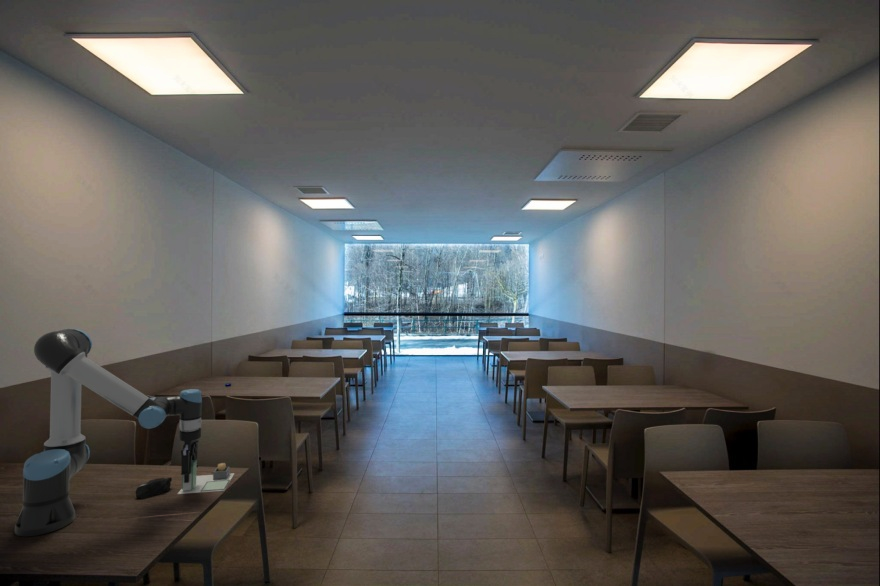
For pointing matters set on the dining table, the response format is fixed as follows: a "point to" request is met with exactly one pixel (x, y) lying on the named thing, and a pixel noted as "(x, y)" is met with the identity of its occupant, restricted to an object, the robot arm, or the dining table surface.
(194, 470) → the green rectangular block
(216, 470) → the button housing
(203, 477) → the board
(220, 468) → the button
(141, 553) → the dining table surface
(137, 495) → the rock
